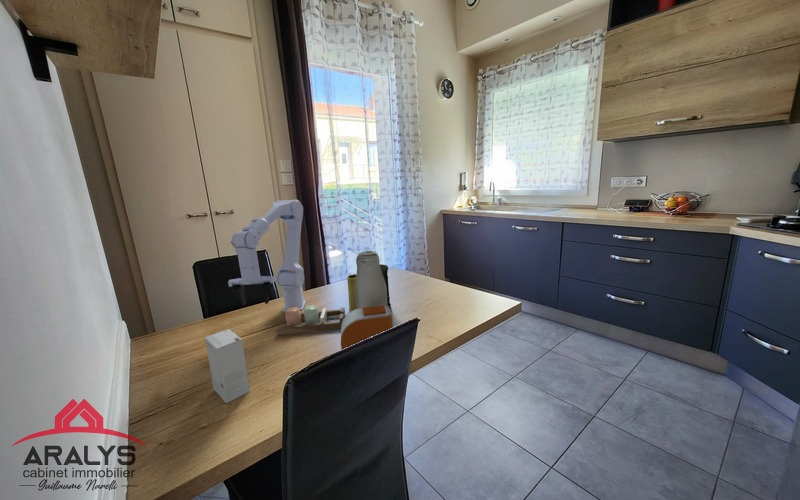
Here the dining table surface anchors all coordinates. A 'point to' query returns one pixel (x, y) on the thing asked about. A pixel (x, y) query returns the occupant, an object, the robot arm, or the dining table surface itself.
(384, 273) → the container
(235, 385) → the skincare box
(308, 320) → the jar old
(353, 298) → the vase
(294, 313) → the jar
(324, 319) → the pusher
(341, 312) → the lane
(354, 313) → the alarm clock
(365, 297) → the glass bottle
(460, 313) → the dining table surface
